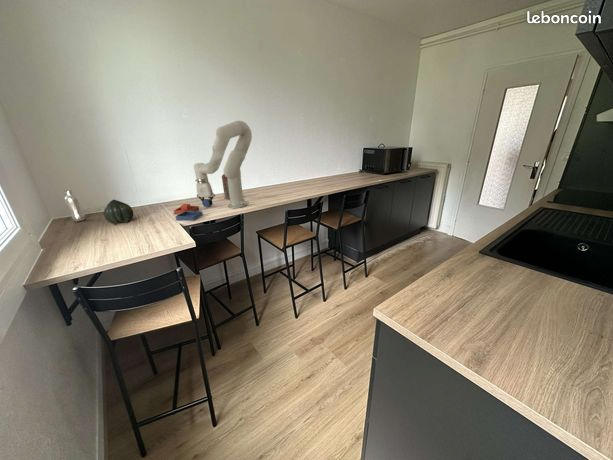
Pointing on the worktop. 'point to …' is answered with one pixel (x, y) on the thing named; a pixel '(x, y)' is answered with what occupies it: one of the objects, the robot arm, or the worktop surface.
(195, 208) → the terracotta tray
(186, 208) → the terracotta block
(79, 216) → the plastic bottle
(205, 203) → the blue block
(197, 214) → the blue tray
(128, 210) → the squash
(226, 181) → the juice carton
